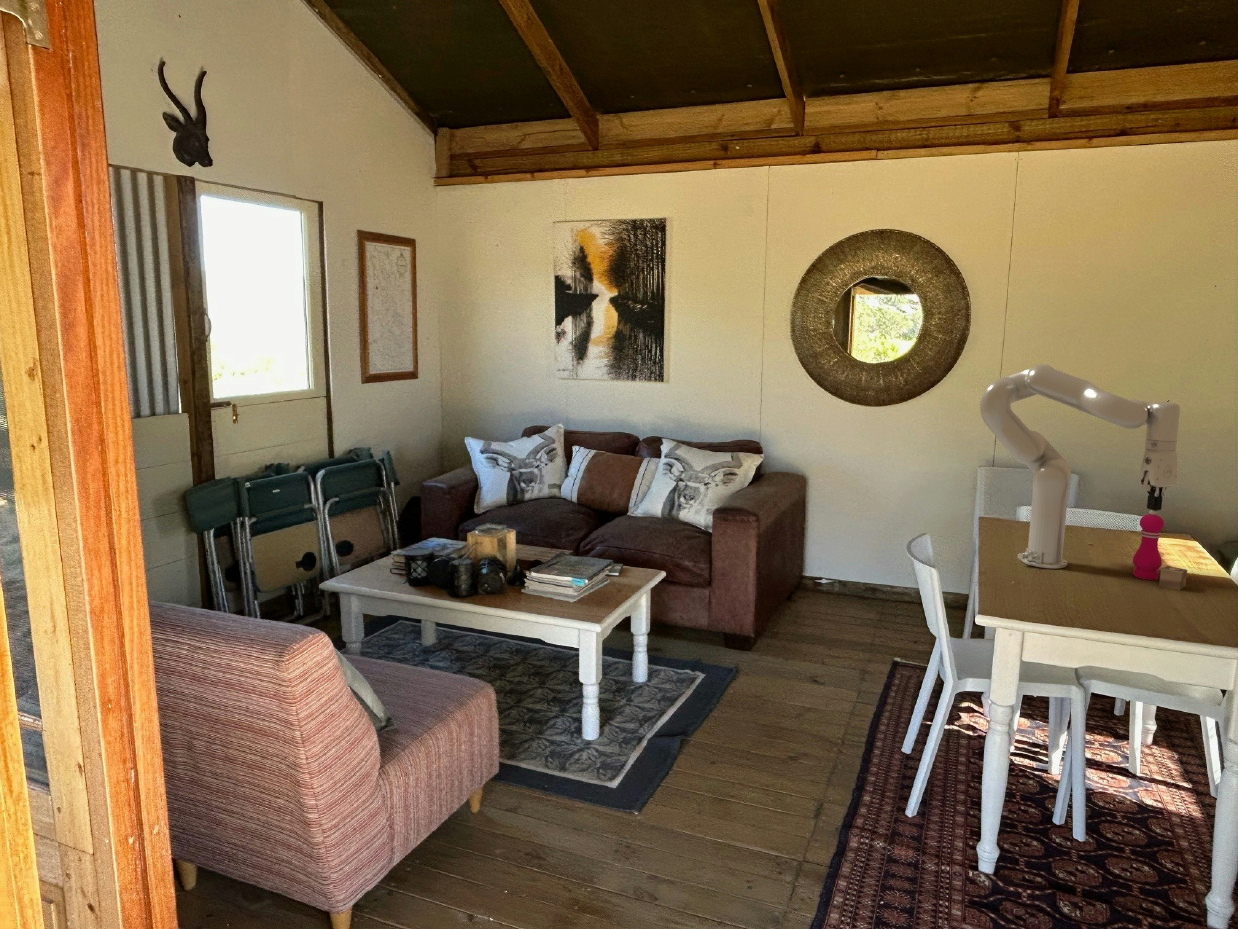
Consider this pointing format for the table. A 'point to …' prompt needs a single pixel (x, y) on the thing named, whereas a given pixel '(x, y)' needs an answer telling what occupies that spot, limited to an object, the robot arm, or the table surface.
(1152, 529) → the pepper mill
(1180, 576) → the walnut block
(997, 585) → the table surface
